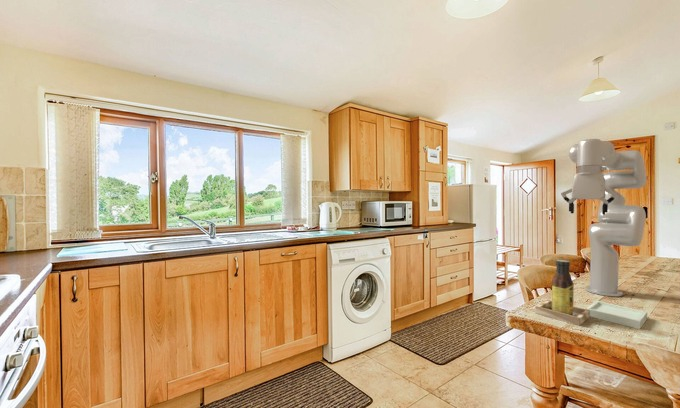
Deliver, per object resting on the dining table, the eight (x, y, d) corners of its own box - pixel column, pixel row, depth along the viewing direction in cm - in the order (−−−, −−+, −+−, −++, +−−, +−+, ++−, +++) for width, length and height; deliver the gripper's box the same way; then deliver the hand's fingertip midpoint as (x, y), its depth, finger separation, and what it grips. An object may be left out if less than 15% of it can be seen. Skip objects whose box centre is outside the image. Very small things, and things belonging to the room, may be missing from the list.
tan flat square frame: (547, 306, 116) (547, 300, 116) (589, 317, 105) (589, 310, 105) (535, 313, 109) (535, 306, 108) (579, 325, 98) (579, 318, 98)
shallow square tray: (596, 306, 116) (596, 300, 115) (647, 318, 104) (647, 311, 104) (585, 315, 107) (585, 308, 107) (639, 329, 96) (639, 321, 96)
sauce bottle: (574, 320, 102) (575, 263, 102) (552, 316, 106) (553, 261, 105) (571, 314, 108) (572, 260, 108) (550, 310, 111) (551, 258, 111)
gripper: (619, 170, 113) (617, 214, 114) (563, 172, 126) (562, 212, 126) (618, 168, 108) (617, 215, 108) (560, 171, 120) (559, 213, 120)
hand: (587, 213), depth 117 cm, fingers open, 9 cm apart
